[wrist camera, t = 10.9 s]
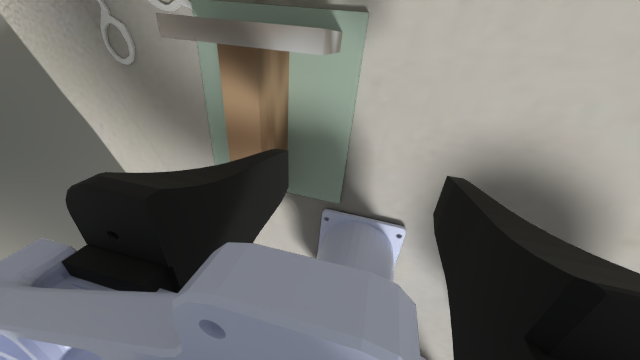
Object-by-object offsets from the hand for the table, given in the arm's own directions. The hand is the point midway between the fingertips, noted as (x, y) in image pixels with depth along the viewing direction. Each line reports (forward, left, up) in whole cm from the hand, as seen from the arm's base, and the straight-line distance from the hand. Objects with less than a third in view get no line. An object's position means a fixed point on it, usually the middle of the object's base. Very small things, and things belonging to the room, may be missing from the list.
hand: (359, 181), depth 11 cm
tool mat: (0, +8, -9) cm, 12 cm away
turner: (-1, +8, -9) cm, 12 cm away
